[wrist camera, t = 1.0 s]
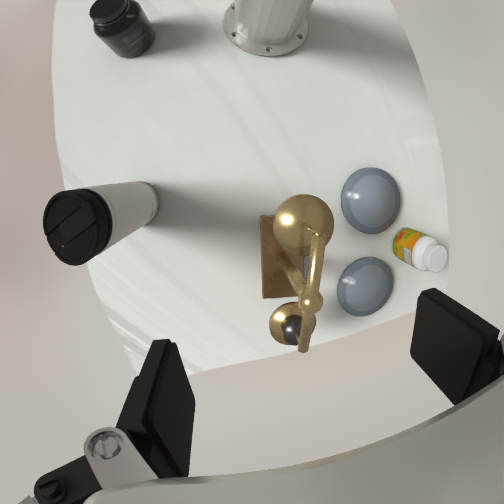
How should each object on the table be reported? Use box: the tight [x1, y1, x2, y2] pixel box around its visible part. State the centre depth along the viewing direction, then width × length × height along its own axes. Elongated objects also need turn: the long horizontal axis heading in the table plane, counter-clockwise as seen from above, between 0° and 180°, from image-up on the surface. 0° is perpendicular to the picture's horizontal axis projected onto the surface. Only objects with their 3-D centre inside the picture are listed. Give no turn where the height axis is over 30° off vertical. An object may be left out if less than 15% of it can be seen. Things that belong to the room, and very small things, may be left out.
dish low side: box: [337, 257, 393, 316], centre depth 43 cm, size 10×10×1 cm
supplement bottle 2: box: [391, 228, 447, 273], centre depth 37 cm, size 5×5×10 cm
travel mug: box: [43, 182, 159, 266], centre depth 28 cm, size 6×7×20 cm
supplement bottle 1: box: [89, 0, 155, 58], centre depth 25 cm, size 7×7×12 cm
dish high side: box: [341, 168, 400, 234], centre depth 39 cm, size 10×10×1 cm
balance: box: [260, 194, 334, 353], centre depth 32 cm, size 20×6×18 cm, turn 2°
